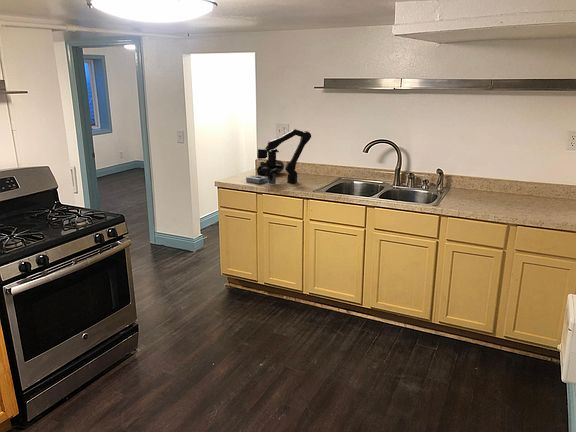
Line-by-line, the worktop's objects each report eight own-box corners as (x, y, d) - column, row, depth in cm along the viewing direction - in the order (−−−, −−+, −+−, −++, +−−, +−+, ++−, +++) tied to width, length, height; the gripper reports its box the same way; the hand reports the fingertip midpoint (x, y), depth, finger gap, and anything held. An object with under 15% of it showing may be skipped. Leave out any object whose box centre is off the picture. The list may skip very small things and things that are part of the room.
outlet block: (267, 182, 345) (267, 177, 344) (259, 184, 337) (259, 179, 336) (255, 180, 352) (254, 175, 351) (246, 182, 344) (246, 177, 343)
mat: (280, 183, 341) (280, 182, 341) (273, 185, 334) (273, 185, 334) (270, 182, 346) (270, 181, 346) (263, 184, 339) (263, 183, 339)
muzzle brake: (256, 178, 361) (256, 164, 358) (275, 172, 384) (275, 159, 382) (267, 179, 356) (267, 165, 354) (285, 173, 380) (285, 160, 377)
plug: (275, 183, 340) (275, 173, 338) (273, 183, 338) (273, 174, 336) (270, 182, 342) (270, 172, 341) (268, 183, 340) (268, 173, 338)
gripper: (271, 155, 347) (271, 176, 351) (254, 159, 332) (255, 180, 337) (283, 157, 341) (283, 178, 345) (267, 160, 326) (267, 182, 331)
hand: (272, 180), depth 340 cm, fingers closed on plug, 3 cm apart
